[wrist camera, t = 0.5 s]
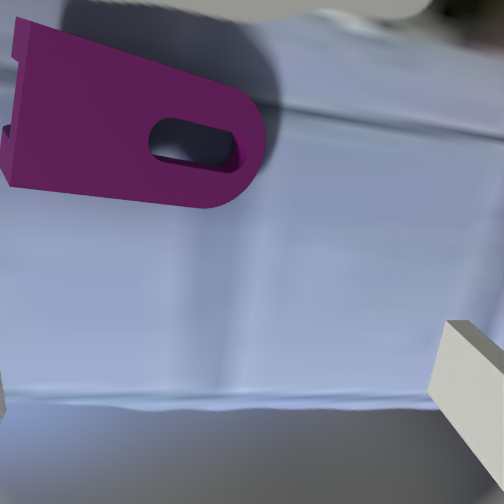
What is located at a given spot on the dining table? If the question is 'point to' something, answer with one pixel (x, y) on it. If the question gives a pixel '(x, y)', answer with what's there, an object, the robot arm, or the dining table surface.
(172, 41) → the dining table surface
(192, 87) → the mounting bracket
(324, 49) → the dining table surface
